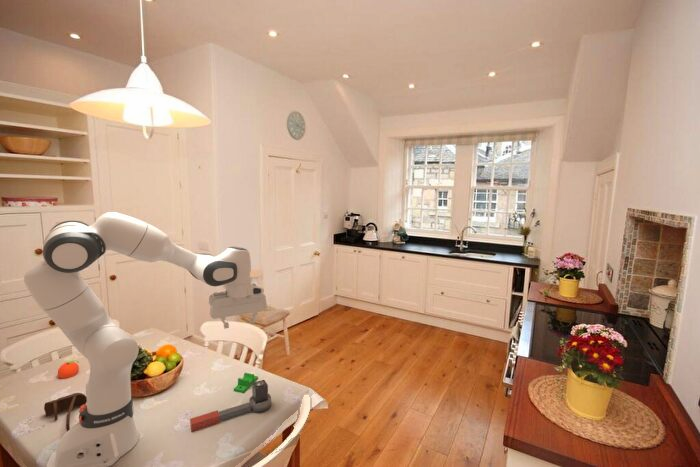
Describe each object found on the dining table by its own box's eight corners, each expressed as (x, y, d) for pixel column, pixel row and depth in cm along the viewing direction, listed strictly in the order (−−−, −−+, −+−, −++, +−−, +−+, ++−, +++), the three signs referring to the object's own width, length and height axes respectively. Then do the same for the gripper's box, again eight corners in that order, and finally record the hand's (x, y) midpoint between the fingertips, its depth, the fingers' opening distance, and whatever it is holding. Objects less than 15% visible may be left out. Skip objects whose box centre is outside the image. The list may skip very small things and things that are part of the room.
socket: (255, 404, 120) (255, 388, 119) (252, 397, 124) (252, 382, 123) (267, 400, 122) (267, 384, 122) (264, 393, 126) (264, 378, 126)
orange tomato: (73, 371, 144) (72, 356, 144) (86, 373, 143) (85, 358, 142) (53, 381, 137) (52, 365, 136) (67, 383, 135) (65, 367, 135)
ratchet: (192, 436, 107) (191, 419, 107) (189, 421, 114) (188, 405, 113) (274, 408, 122) (273, 393, 121) (267, 397, 129) (267, 383, 128)
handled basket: (44, 416, 115) (43, 398, 114) (86, 403, 123) (85, 386, 122) (44, 445, 102) (42, 425, 101) (90, 428, 110) (89, 409, 109)
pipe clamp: (243, 384, 131) (233, 382, 132) (243, 393, 131) (233, 391, 132) (257, 370, 141) (248, 369, 143) (257, 378, 142) (248, 377, 143)
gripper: (210, 295, 112) (211, 334, 114) (267, 288, 123) (268, 323, 125) (207, 291, 118) (208, 327, 119) (262, 284, 128) (263, 318, 130)
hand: (239, 325), depth 122 cm, fingers open, 8 cm apart
